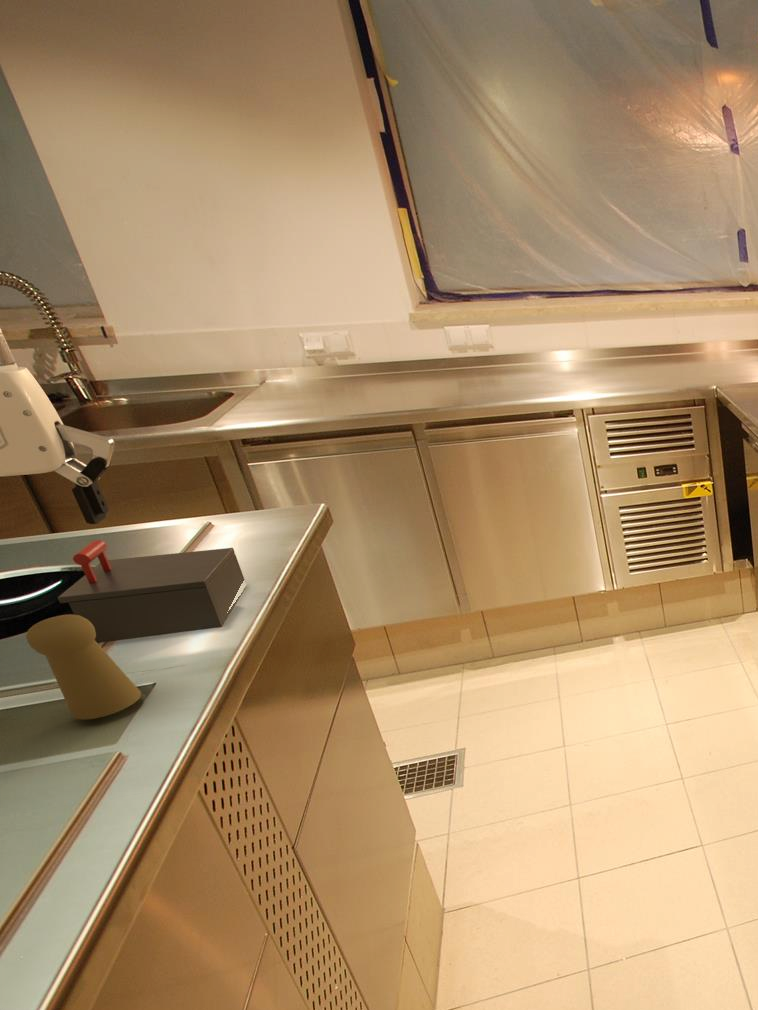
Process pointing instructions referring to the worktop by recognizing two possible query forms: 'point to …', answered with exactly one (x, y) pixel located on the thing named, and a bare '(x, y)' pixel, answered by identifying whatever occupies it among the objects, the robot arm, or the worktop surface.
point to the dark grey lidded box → (164, 609)
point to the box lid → (142, 573)
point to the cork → (82, 667)
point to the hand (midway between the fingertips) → (37, 526)
